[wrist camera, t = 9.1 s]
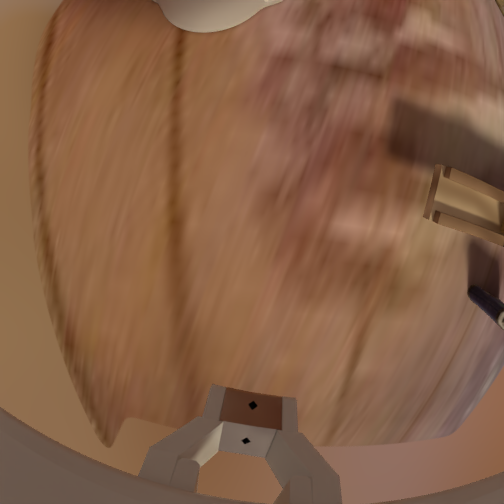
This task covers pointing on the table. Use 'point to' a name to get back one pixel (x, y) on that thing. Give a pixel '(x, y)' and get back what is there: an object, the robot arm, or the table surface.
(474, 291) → the flask
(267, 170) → the table surface
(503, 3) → the ceramic model
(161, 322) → the table surface
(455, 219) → the beam
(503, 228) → the rider
